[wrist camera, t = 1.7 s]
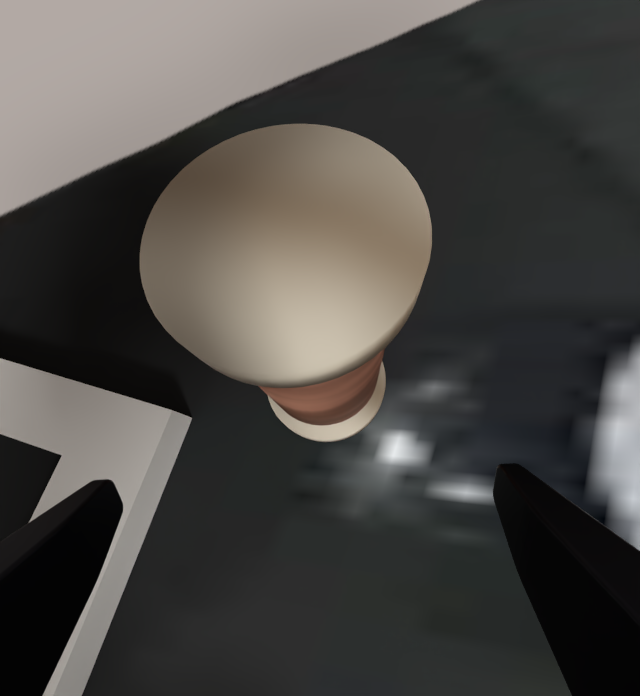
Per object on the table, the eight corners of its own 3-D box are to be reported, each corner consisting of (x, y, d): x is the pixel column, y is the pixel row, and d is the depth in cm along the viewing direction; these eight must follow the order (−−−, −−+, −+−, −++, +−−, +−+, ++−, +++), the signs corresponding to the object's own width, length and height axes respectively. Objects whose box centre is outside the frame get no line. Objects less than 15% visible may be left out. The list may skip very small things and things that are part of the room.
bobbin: (368, 457, 20) (394, 413, 7) (255, 423, 21) (88, 330, 8) (395, 345, 22) (455, 143, 9) (290, 320, 23) (204, 109, 10)
